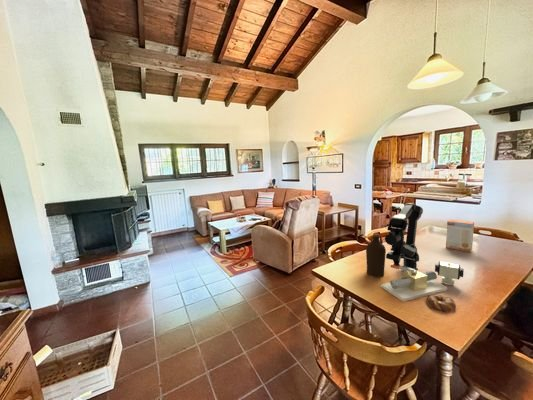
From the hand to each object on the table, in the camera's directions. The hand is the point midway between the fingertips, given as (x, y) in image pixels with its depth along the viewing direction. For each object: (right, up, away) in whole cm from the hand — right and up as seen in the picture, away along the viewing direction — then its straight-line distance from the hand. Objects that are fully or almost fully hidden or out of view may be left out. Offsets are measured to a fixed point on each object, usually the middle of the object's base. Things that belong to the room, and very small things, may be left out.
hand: (397, 266), depth 126 cm
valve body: (+5, -8, -7) cm, 12 cm away
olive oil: (-7, -8, +11) cm, 15 cm away
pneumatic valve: (+25, -8, -5) cm, 27 cm away
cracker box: (+67, +1, +39) cm, 78 cm away
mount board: (+5, -10, -7) cm, 13 cm away
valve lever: (+1, -1, -5) cm, 5 cm away
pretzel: (+8, -12, -21) cm, 26 cm away
